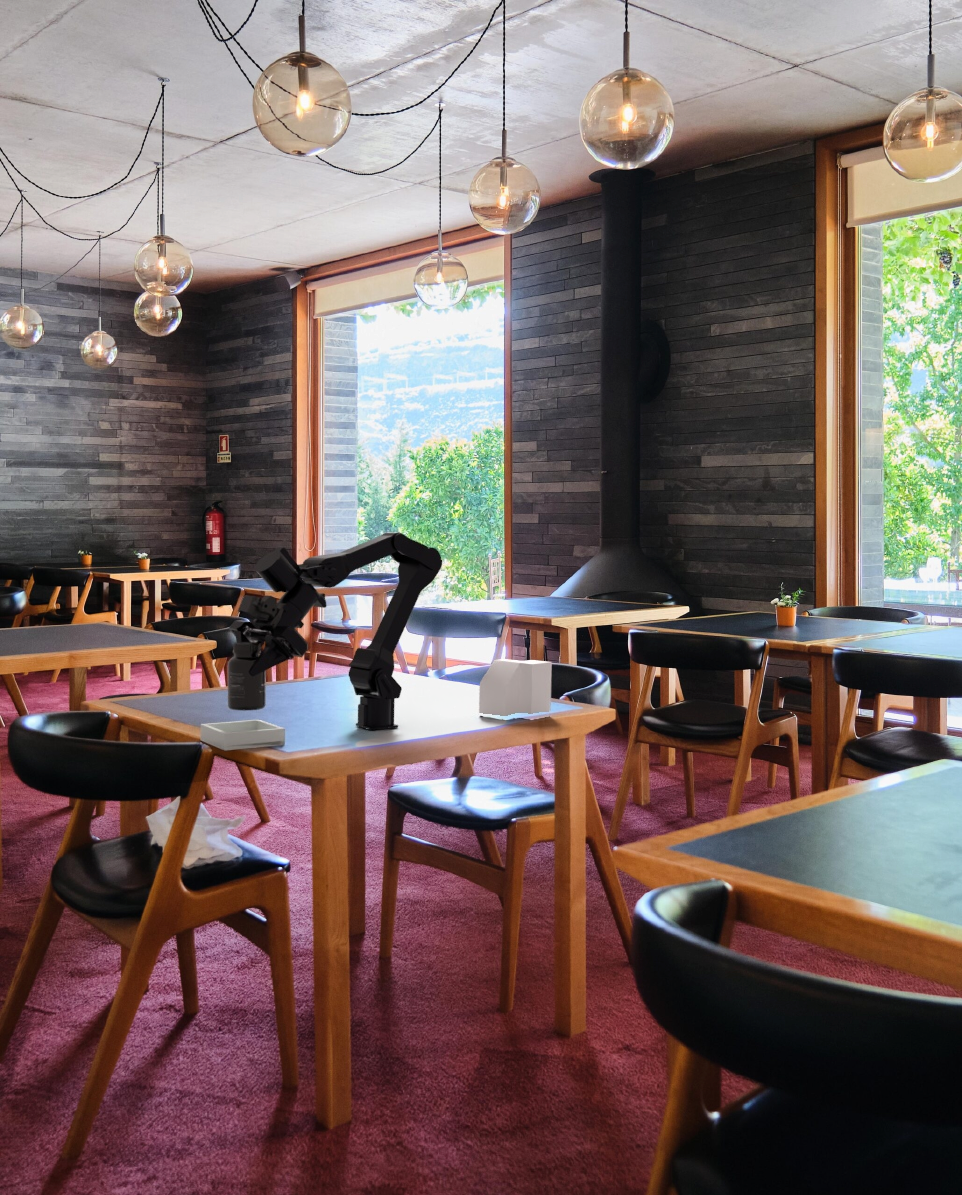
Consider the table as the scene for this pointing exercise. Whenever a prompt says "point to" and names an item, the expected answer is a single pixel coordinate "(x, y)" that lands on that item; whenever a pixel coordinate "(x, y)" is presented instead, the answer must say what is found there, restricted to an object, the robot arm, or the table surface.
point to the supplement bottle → (245, 679)
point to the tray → (242, 734)
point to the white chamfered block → (516, 687)
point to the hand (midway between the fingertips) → (240, 672)
